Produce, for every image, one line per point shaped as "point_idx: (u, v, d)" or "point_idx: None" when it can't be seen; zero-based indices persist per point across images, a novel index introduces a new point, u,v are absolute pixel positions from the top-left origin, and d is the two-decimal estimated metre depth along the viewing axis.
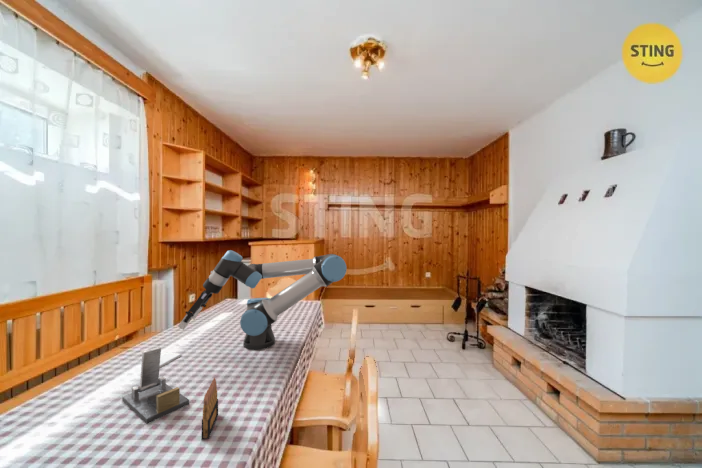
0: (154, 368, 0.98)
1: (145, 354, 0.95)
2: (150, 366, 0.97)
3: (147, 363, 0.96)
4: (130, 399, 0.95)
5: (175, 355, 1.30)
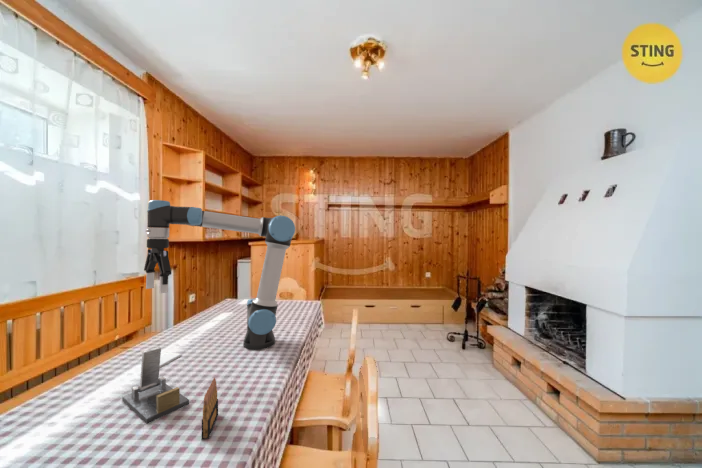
0: (154, 368, 0.98)
1: (145, 354, 0.95)
2: (150, 366, 0.97)
3: (147, 363, 0.96)
4: (130, 399, 0.95)
5: (175, 355, 1.30)
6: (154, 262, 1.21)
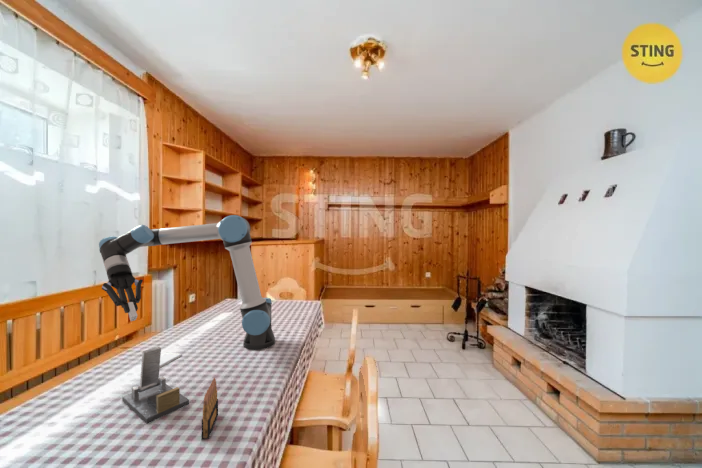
0: (154, 368, 0.98)
1: (145, 354, 0.95)
2: (150, 366, 0.97)
3: (147, 363, 0.96)
4: (130, 399, 0.95)
5: (175, 355, 1.30)
6: (127, 290, 1.12)
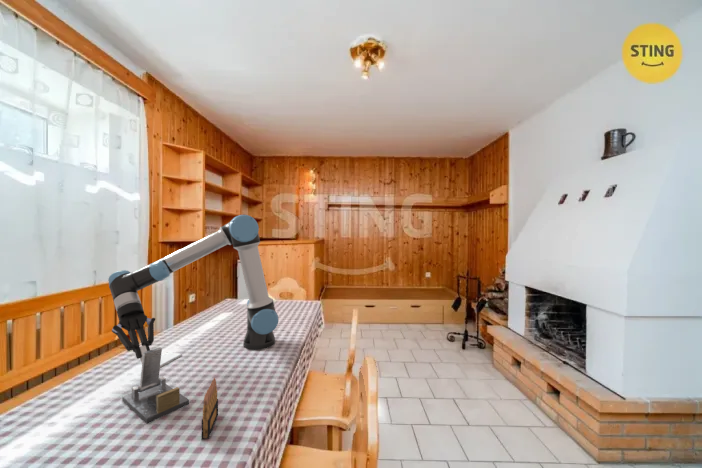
0: (154, 368, 0.98)
1: (146, 355, 0.95)
2: (150, 367, 0.97)
3: (148, 364, 0.96)
4: (130, 399, 0.95)
5: (175, 355, 1.30)
6: (139, 331, 1.04)
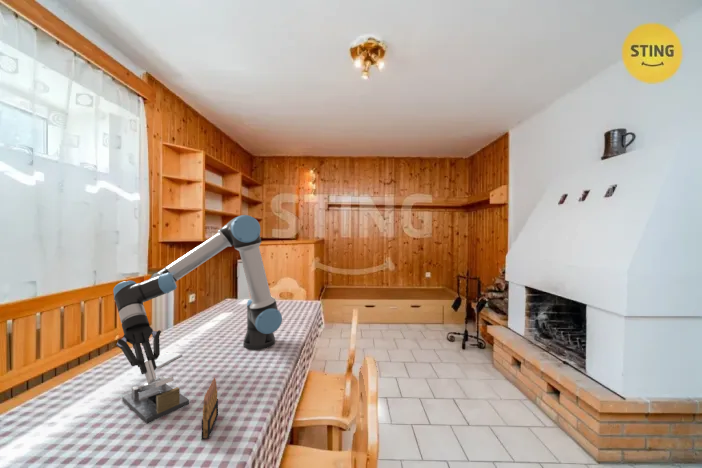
0: None
1: (157, 386, 0.90)
2: None
3: None
4: (130, 399, 0.95)
5: (175, 355, 1.30)
6: (144, 345, 1.00)
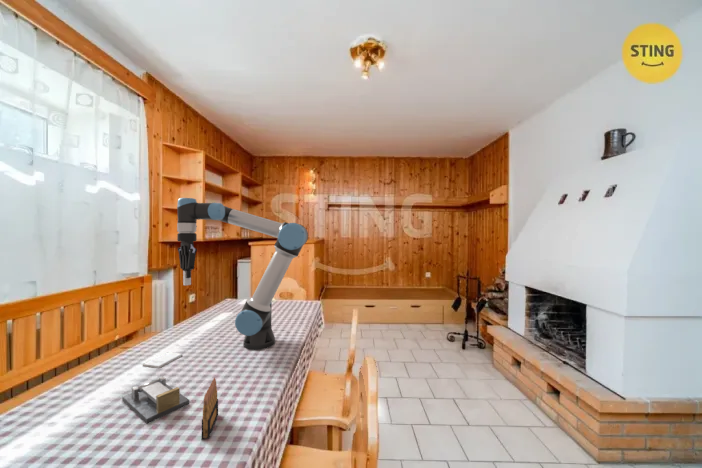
0: None
1: None
2: None
3: None
4: (130, 399, 0.95)
5: (176, 355, 1.30)
6: None
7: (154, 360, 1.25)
